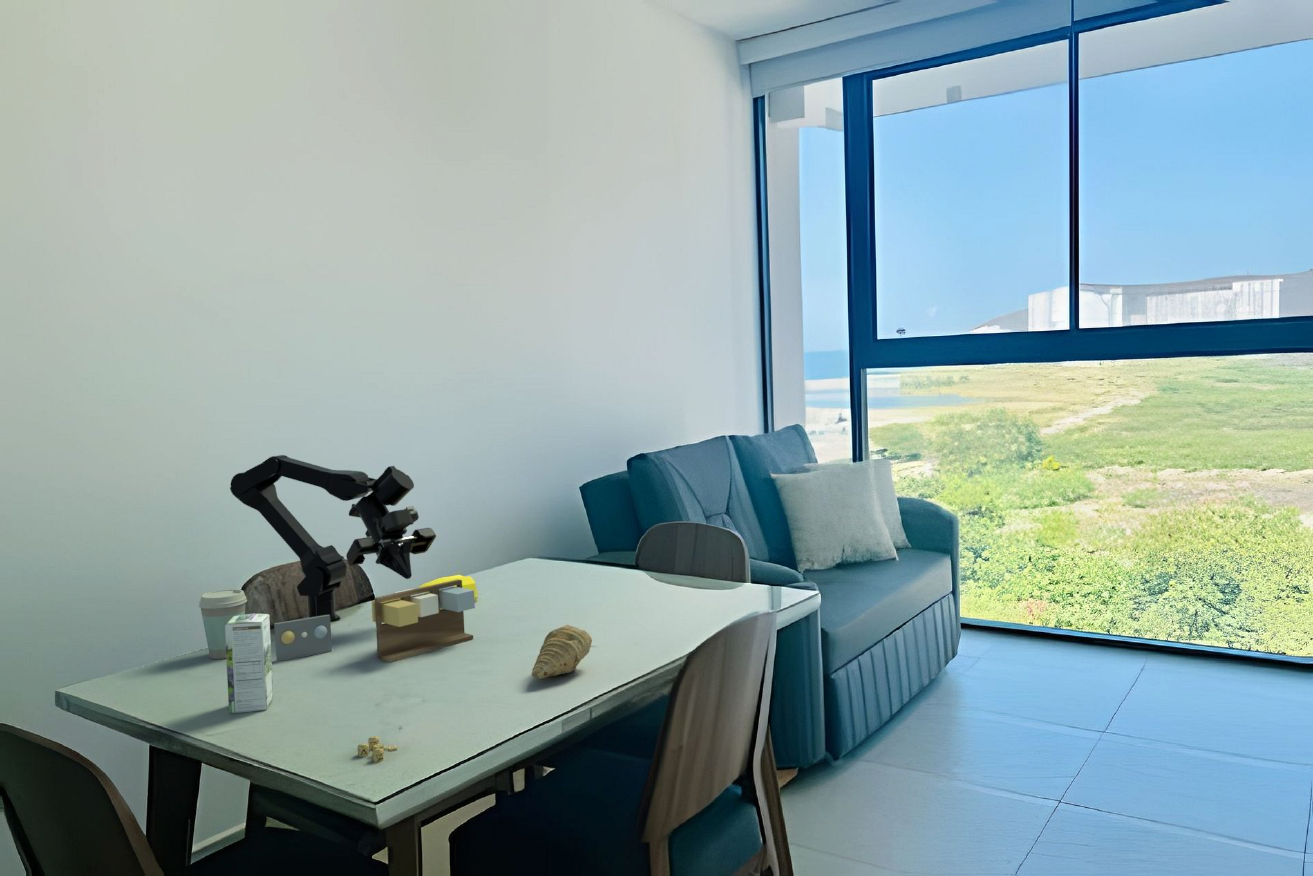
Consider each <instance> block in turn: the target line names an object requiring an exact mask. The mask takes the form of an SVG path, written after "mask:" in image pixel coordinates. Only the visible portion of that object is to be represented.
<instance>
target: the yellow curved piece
mask: <svg viewBox="0 0 1313 876" xmlns="http://www.w3.org/2000/svg"><path fill="white" fill-rule="evenodd" d="M458 579H459V580H462V588H465V589H470V590H474V600H475V601H476V600H477V599H478V598H479V595H478V589H477V583H476V581H475V580H474V578H472V577H471V575H467V576H465V575H461V574H455V575H450V576H444V577H439V578H436V579H434V580H431V581H428V582H425V583H423V584H420V586H419V587H418V588H422V587H426V586H431V585H435V584H440V583H444V582H449V581H453V580H458ZM455 587H457V586H455ZM426 593H429V592H426ZM441 609H442V608H440V610H441Z"/></svg>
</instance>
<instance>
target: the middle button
mask: <svg viewBox="0 0 1313 876" xmlns="http://www.w3.org/2000/svg"><path fill="white" fill-rule="evenodd" d="M413 589H414V588H413V587H412V588H409V589H405V590H399V591H395V592H394V591H393V593H392V594H395V593H399V592H404V591H408V590H413ZM398 599H399V600H400V598H398ZM411 602H412V603H417V611H418V617H424V616H428V615H432V614H436V613H439V611H438V595H435V594H431V593H426V592H425V593H420V594H416V595H412V596H411Z"/></svg>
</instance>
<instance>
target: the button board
mask: <svg viewBox="0 0 1313 876" xmlns="http://www.w3.org/2000/svg"><path fill="white" fill-rule="evenodd" d="M451 586H457V587H460V588H462V580H459V579H458V580H453V581H449V582H444V583H440V584H435V585H431V586H426V587H422V588H419V587H418V588H413V590H408V589H407V590H408V591H404V592H399V591H398V592H399V593H395V594H393V593H391V594H386V595H381V596H377V597H374V600H375V617H376V622H375V630H376V631H375V632H376V649H377V650H376V651H377V659H378V658H379V659H378V660H380V659H381V661H383V660H385V661H384V662H387V663H393V662H396V661H395V660H397V661H400V659H401V660H403V659H402V658H404V659H407V658H411V657H414V656H417V655H421V654H426V653H429V652H432V651H436V650H440V649H442V647H443V648H446V647H450V646H453V645H457V643H458V644H461V643H464V642H467V641H471V640H474V634H472V633H471V634H470V633H466V632H465V616H464V615H465V614H464V612H465V611H461V612H455V611H451V610H446V609H441V610H440V597H439V589H442V588H447V587H451ZM425 592H429V593H431V594H435V595H438V611H439V613H436V614H432V615H428V616H424V617H418V622H417V623H413V624H409V625H405V626H401V627H398V626H394V625H390V624H386V623H382V618H381V602H385V601H389V600H394V599H398V598H400V600H403V601H408V602H411V596H412V595H416V594H420V593H425ZM460 642H461V643H460ZM435 649H436V650H435ZM428 651H429V652H428ZM410 656H411V657H410ZM392 661H393V662H392Z"/></svg>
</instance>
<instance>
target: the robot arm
mask: <svg viewBox="0 0 1313 876" xmlns="http://www.w3.org/2000/svg"><path fill="white" fill-rule="evenodd" d="M281 477H284V478H288V479H291V480H293V481H297V482H301V483H304V484H308V485H312V486H315V487H319V488H321V489H323V490H325V491H326V493H328V494H329V495H331V496H333V497H335V498H337V499H340V501H344V502H348V501H351V500H352V501H353V500H356V499H359V500H358V501H357V502H356V503H352V504H351V507H350V509H349V511H348V516H349V517H354V518H360V519H361V521H362V522H363V524H364V527H365V528H366V531H365V534H364V535H366V536H365V537H360V538H355V539H353V541H352V543H351V545H350V547H349V549H348V551H347V553H346V560H347V562H348V564H349V565H350V566H351V567H353V566H358V565H362V564H364V561H365V560H366V557H365V556H364V555H373V554H375V555H376V557H377V558H376V559H375V564H376V565H381V566H384V567H386V569H387V568H388V569H390V570H391V571H393V572H395V574H397V575H399V576H401V577H402V578H404V579H406V580H409V579H411V577H412V566H411V554H412V555H418V554H424V553H426V552H428V551H429V549H430V547H431V546H432V544H433V542H434V541H435V539H436V537H437V534H436V533H435V531H434V529H432V528H431V527H424V528H418V529H414V530H413V532H412V534H411V536H407V537H404V536H403V535H406V533H407V532H408V530H407V528H408V527H409V526H410V525H413V524H414V523H415V522H416V521H418V520H419V518H420V517H419V513H418V511H417V509H416V507H415V506H414V505H411V506H406V507H405V508H404V509H399V510H392V511H389V509H388V507H387V506H392V507H393V506H396V505H398V504H399V503H400V502H401V501H402V500H403V499H404V498H405V497H406V496H407V495H408V494H409V493H410V492H411V491H412V490H413V489H414V488H415V483H414V481H413V479H412V478H411V477H410V476H409V474H406V473H405V472H403V471H402V470H400V469H397V468H396V467H395V465H390V466H389V465H388V467H386V468H385V469H384V471H383V473H382V474H381V475H380V476H379V477H378V478H374V477H369V475H368V474H367V473H366V472H363V471H359V470H349V469H348V470H347V469H346V470H345V469H343V470H342V469H330V468H328V467H323V466H320V465H317V464H312V463H309V462H305V461H304V460H303V461H302V460H299V459H295V458H293V457H292V458H291V457H289V456H287V455H284V454H279V455H273V456H270V457H268V458H267V459H266V460H264V461H263V462H261V463H259V464H257V465H255V466H253V467H251V468H249V469H248V470H246V471H242V472H238V473H236V474H234V476H232V478H231V481H230V487H229V490H230V492H231V494H232V495H233V496H234V497H235V498H236V499H237V500H238V501H240V503H242V504H243V505H245V506H247V507H249V508H251V509H253V510H256V511H257V512H259V514H261V516H262V517H263V518H264V519H265V521H266V522H267V523H268V524H269V525H270V526H271V527H272V528H273V530H274V531H275V532H276V533H277V534H278V535H279V537H280V538H281V539H282V540H283V541H284V542H285V543H286V545H288V547H289V548H290V550H292V552H293V553H295V555H296V556H297V557H298V559H299V561H300V566H301V571H302V573H303V575H304V576H305V577H304V578H303V579H302V580H301V581H300V582H299V584H298V585H297V586H296V589H297V591H298V595H299V597H306V603H307V604H306V606H307V609H306V610H307V615H304V616H303V617H302V619H304V618H310V617H316V616H323V615H330V622H332V621H331V620H333V621H337V620H338V619H339V620H341V616H340V615H338V614H337V613H336V602H335V601H336V600H335V589H340V588H341V587H342V582H343V580H344V578H346V574H347V563H346V562H345V561H344V559H345V557H344V556H342V555H341V554H340V553H339V552H338V551H337V549H336V547H335V546H334V545H332V544H331V545H330V544H329V545H327V546H322V545H320V544H319V543H317V541H316V540H315V539H314V538H313V536H312V535H311V534H310V533H309V532H308V531H307V530H306V529H305V528H304V526H303V525H302V523H300V522H299V521H298V519H297V518H296V517H295V516H294V515H293V514H292V512H291V511H290V510H289V509H288V508H287V507H286V506H285V504H284V503H283V502H282V501H281V500H280V499H279V497H278V493H277V489H276V485H275V484H276V482H278V481H279V480H280V479H281Z"/></svg>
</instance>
